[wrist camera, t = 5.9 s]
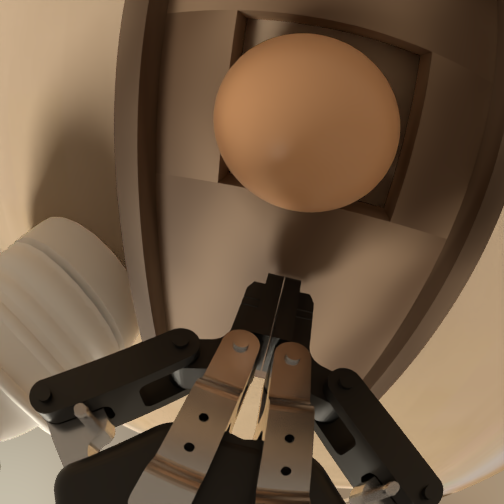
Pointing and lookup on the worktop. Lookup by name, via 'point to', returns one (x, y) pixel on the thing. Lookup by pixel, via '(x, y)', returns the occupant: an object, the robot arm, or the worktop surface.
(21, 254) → the honey pot
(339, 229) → the track
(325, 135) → the ball
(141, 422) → the worktop surface
